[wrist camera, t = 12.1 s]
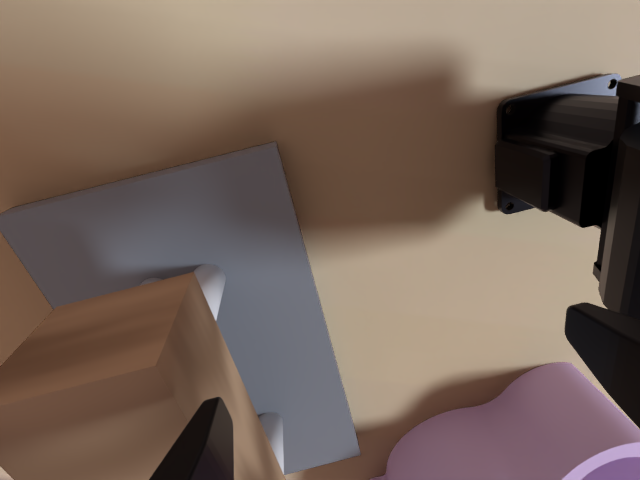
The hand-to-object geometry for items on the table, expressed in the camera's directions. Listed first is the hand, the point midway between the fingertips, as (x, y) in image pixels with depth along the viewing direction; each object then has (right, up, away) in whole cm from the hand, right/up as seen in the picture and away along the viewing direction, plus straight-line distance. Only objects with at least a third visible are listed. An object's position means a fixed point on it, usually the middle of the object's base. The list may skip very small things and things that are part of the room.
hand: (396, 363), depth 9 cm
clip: (+12, -14, +22) cm, 29 cm away
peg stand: (-8, -4, +15) cm, 17 cm away
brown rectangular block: (-8, -7, +9) cm, 13 cm away
